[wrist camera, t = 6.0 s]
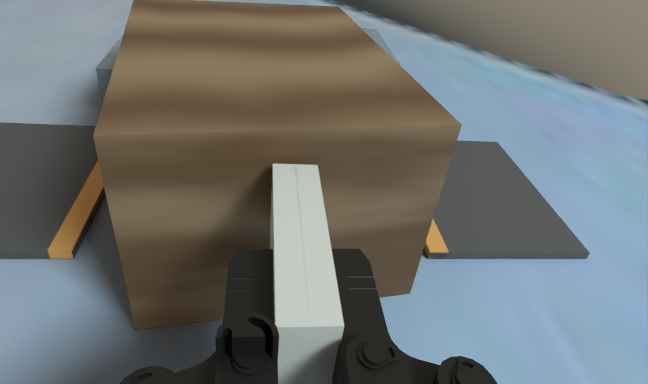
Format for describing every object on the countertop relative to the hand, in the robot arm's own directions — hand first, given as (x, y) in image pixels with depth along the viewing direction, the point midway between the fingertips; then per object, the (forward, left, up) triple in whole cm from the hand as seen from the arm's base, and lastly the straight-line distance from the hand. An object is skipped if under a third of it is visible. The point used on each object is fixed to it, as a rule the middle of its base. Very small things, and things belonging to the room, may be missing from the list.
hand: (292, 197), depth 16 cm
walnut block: (-5, +7, -7) cm, 11 cm away
